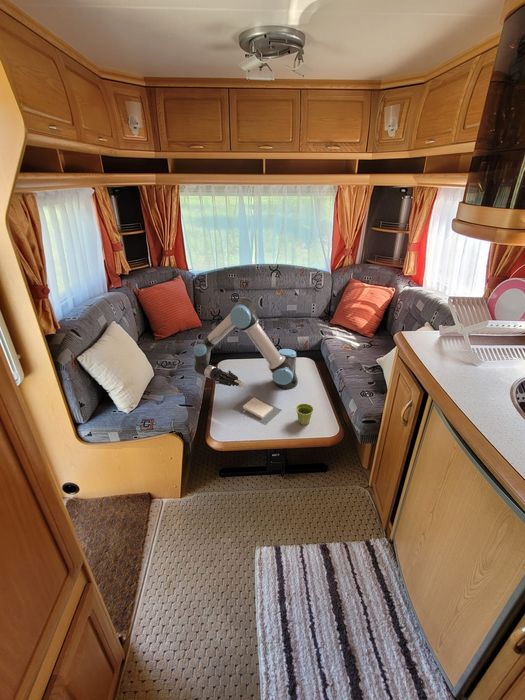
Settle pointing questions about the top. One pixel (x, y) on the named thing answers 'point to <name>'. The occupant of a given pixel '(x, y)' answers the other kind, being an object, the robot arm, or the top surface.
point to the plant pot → (304, 413)
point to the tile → (258, 408)
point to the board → (264, 421)
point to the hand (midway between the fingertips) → (244, 385)
